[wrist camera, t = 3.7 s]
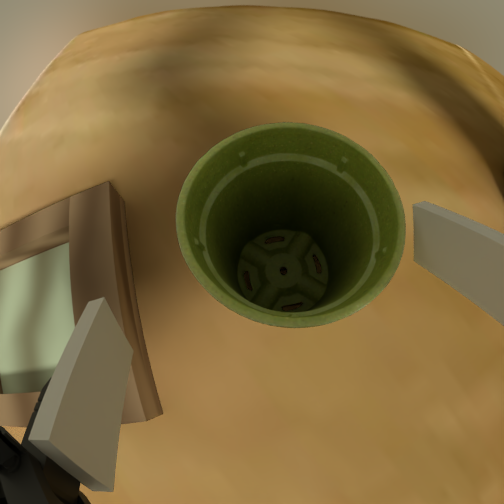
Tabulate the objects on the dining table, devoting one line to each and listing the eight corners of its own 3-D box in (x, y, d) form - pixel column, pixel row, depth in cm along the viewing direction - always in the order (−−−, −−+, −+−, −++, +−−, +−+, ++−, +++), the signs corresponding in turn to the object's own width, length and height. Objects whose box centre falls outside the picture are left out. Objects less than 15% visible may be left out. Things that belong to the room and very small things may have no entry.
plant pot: (198, 227, 21) (164, 146, 13) (324, 196, 21) (350, 110, 13) (229, 360, 18) (202, 357, 9) (370, 317, 18) (439, 281, 10)
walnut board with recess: (124, 201, 22) (108, 181, 19) (163, 413, 16) (146, 421, 14) (-16, 261, 21) (-35, 250, 18) (-4, 421, 15) (-26, 422, 12)
